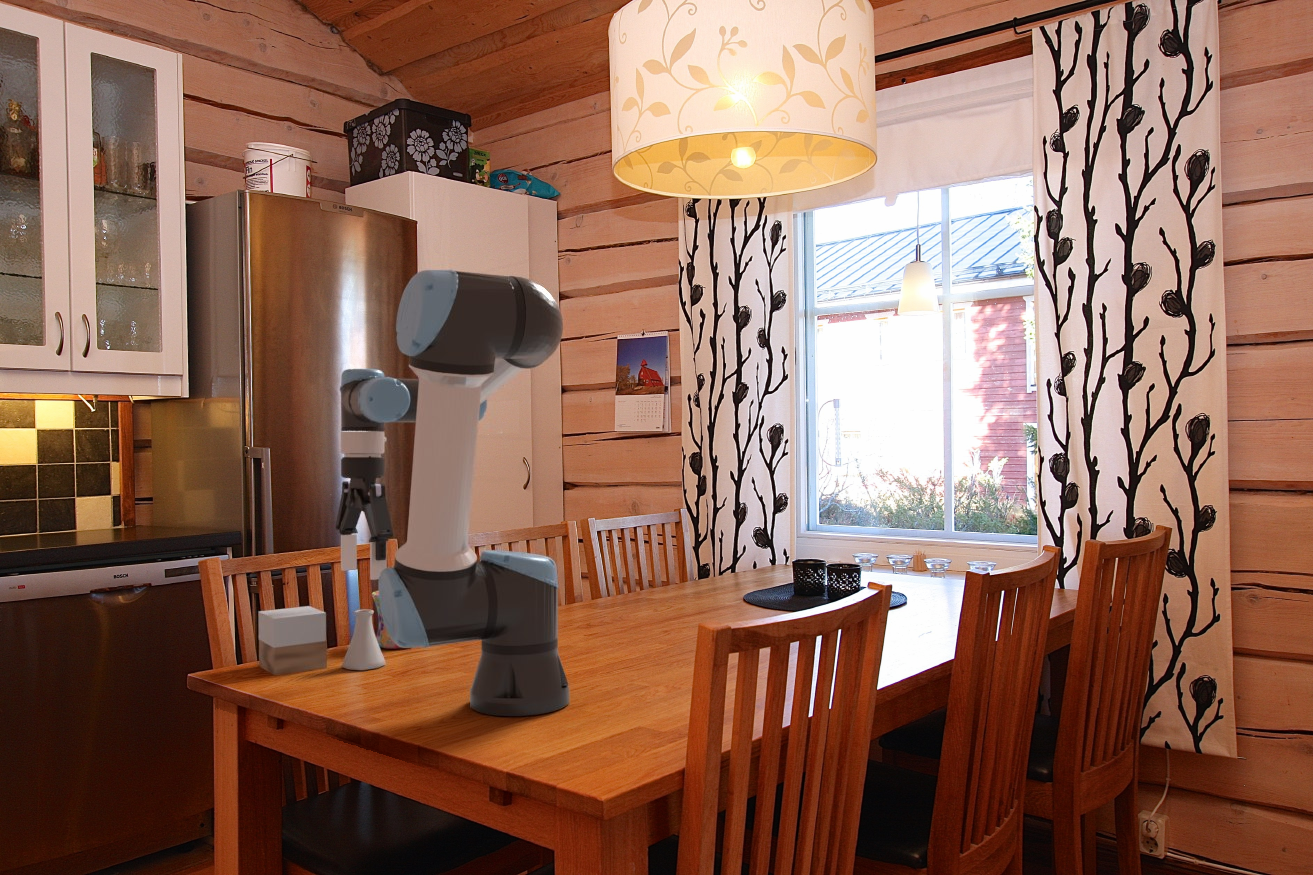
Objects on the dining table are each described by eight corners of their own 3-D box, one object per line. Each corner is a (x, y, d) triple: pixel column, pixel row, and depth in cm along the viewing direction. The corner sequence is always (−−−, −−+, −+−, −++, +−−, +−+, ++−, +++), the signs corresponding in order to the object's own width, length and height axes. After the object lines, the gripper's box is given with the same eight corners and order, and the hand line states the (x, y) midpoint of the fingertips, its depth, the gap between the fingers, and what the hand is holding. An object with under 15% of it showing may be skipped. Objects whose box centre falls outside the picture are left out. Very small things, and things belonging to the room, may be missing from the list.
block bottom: (326, 668, 174) (326, 640, 174) (275, 676, 169) (274, 647, 169) (309, 659, 181) (309, 632, 181) (259, 666, 176) (259, 639, 176)
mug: (392, 653, 186) (391, 597, 186) (361, 647, 191) (361, 592, 191) (441, 642, 195) (441, 589, 195) (411, 636, 201) (410, 585, 201)
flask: (393, 665, 176) (393, 609, 176) (361, 673, 170) (361, 615, 170) (366, 660, 180) (365, 605, 180) (334, 668, 174) (333, 611, 174)
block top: (326, 640, 174) (325, 612, 174) (274, 647, 169) (273, 618, 169) (309, 632, 181) (309, 605, 181) (258, 639, 176) (258, 611, 176)
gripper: (412, 456, 168) (412, 580, 168) (356, 454, 187) (356, 564, 187) (370, 457, 163) (370, 584, 163) (317, 454, 183) (317, 568, 183)
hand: (363, 574), depth 175 cm, fingers open, 13 cm apart
